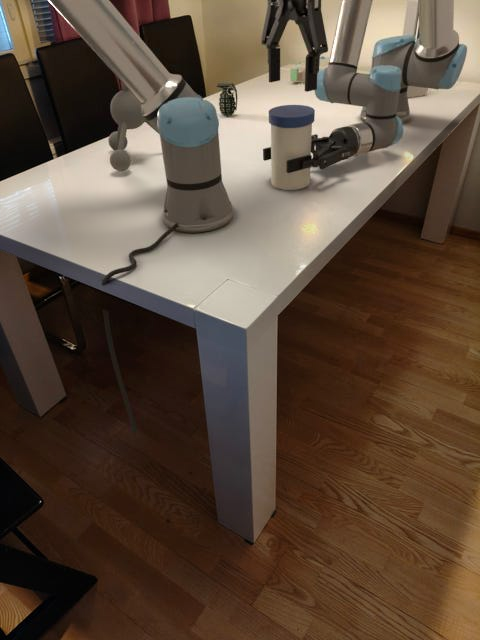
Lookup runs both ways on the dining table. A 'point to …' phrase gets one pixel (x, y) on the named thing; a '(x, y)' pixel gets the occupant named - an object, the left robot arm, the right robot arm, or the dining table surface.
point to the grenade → (227, 99)
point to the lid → (291, 116)
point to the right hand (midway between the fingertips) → (275, 160)
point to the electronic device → (410, 29)
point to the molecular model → (124, 126)
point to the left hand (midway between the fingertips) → (291, 85)
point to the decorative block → (299, 69)
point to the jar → (289, 156)
